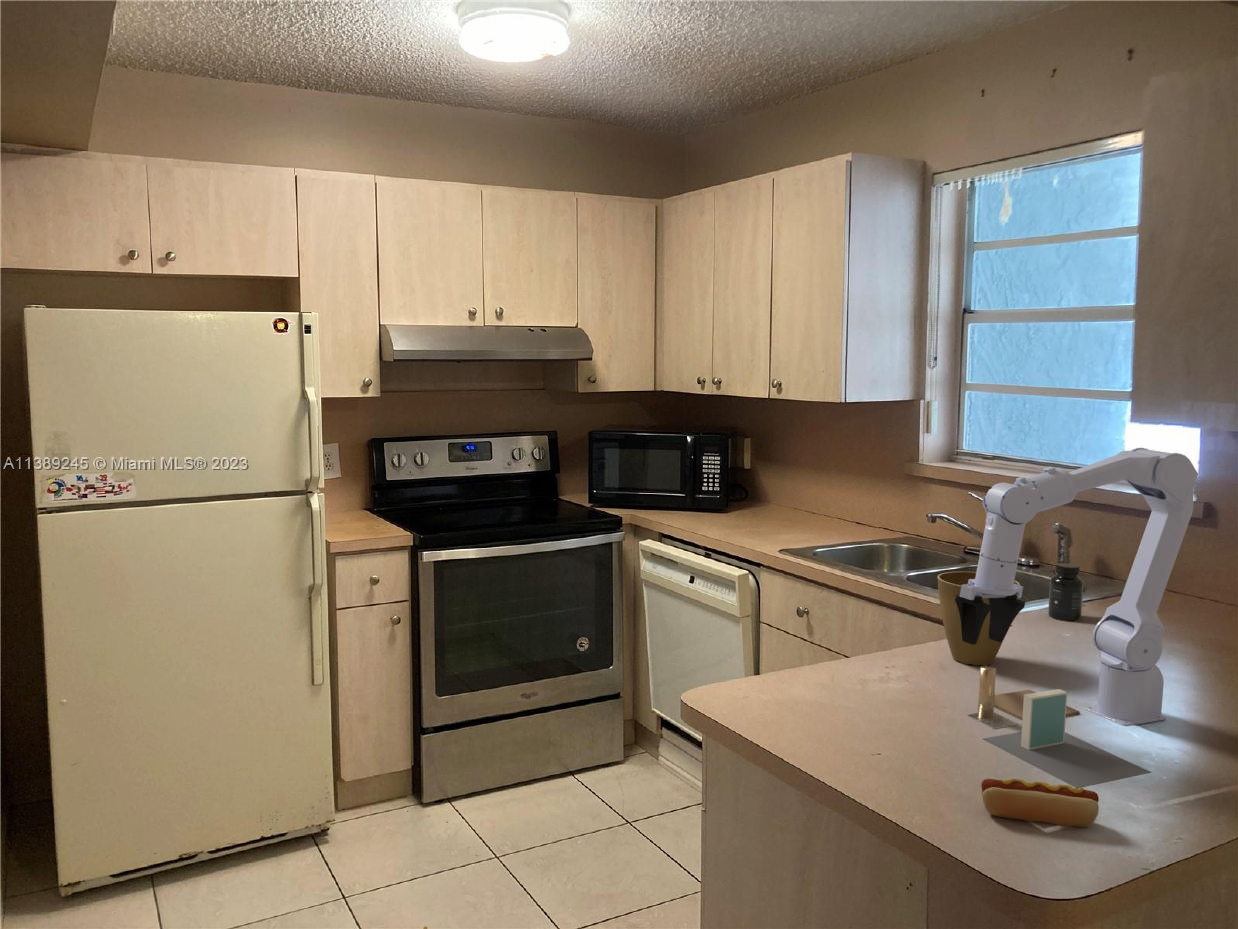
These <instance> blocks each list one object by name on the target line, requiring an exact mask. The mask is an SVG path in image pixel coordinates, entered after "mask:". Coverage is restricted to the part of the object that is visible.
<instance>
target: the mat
mask: <svg viewBox="0 0 1238 929" xmlns="http://www.w3.org/2000/svg"><path fill="white" fill-rule="evenodd" d="M1021 736H1022V731H1019V732H1012V733H1008V734H1003V735H1002V734H1001V735H1000V734H999V735H996V736H991V737H990V736H988V737H985V738H982V741H983V740H984V741H986V742H987V743H989V744H991V745H993V746H995V747H996V748H998V749H1001V750H1003V751H1005V752H1007V753H1008V754H1010V755H1012V756H1014V757H1016V758H1018V759H1020V760H1022V761H1024V762H1025V763H1027V764H1030V765H1031V766H1034V767H1035V768H1037V769H1040V770H1041V771H1043V772H1045V773H1046V774H1049V775H1050V776H1053V777H1054V778H1057V779H1059V780H1060V781H1062V782H1064V783H1065V784H1067V785H1069V786H1071V787H1073V788H1079V789H1080V788H1085V787H1089V786H1093V785H1098V784H1104V783H1107V782H1108V783H1109V782H1111V781H1116V780H1121V779H1126V778H1127V779H1128V778H1131V777H1135V776H1141V775H1144V774H1145V775H1146V774H1150V773H1151V774H1152V771H1150V770H1148V769H1145V768H1143V767H1142V766H1139V765H1137V764H1135V763H1133V762H1130V761H1128V760H1126V759H1124V758H1122V757H1120V756H1118V755H1115V754H1113V753H1111V752H1110V751H1109V752H1108V751H1107V750H1104V749H1103V748H1100V747H1098V746H1096V745H1093V744H1091V743H1089V742H1087V741H1085V740H1083V739H1080V738H1078V737H1076V736H1073V735H1072V734H1069V733H1067V732H1065V735H1064V743H1062V744H1056V745H1051V746H1046V747H1040V748H1035V749H1030V750H1028V749H1026V748H1024V747H1022V746H1021Z"/></svg>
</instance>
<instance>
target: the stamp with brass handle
mask: <svg viewBox="0 0 1238 929" xmlns="http://www.w3.org/2000/svg"><path fill="white" fill-rule="evenodd" d="M996 675H997V669H996V667H993V666H989V665H983V666H980V668H979V683H978V684H979V685H978V702H977V703H978V704H977V712H975V713H970V714H966V717H969V718H971V719H972V720H975V721H977V722H978V723H981V724H982V725H985V726H986V727H988V728H991V729H993V730H997V729H1001V728H1002V729H1003V728H1008V727H1012V726H1018V725H1019V723H1017V722H1015V721H1013V720H1011V719H1010V718H1007V717H1005V716H1002V715H1001V714H999V713H996V712H995V707H994V697H995V695H996V679H997V678H996Z"/></svg>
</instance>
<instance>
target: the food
mask: <svg viewBox="0 0 1238 929" xmlns="http://www.w3.org/2000/svg"><path fill="white" fill-rule="evenodd" d="M980 786H981V799H982V802H983V806H984V808H985V810H986V811H987V813H989V814H990V815H991V816H993V817H1000V818H1005V819H1014V820H1022V821H1025V822H1026V821H1027V822H1037V823H1045V824H1046V823H1047V824H1052V825H1058V826H1063V827H1064V826H1065V827H1078V828H1082V827H1084V828H1085V827H1088V826H1091V825H1092V824H1093V823H1095V820H1096V819H1097V817H1098V815H1099V811H1100V806H1099V799H1100V798H1099V794H1098V793H1097V792H1096V791H1093V790H1089V789H1085V788H1084V787H1080V788H1076V787H1074V786H1072V785H1070V784H1057V785H1056V784H1049V783H1048V782H1042V781H1033V782H1026V780H1023V779H1019V778H1010V779H1007V780H1006V779H999V778H998V779H996V778H985V779H983V780H982V781H981V784H980Z"/></svg>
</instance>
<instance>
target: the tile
mask: <svg viewBox="0 0 1238 929" xmlns="http://www.w3.org/2000/svg"><path fill="white" fill-rule="evenodd" d="M1067 700H1068V692H1067V691H1065V690H1063V689H1061V688H1059V689H1058V688H1057V689H1052V690H1045V691H1040V692H1039V691H1038V692H1035V693H1032V694H1026V695H1024V702H1023V719H1022V720H1021V721H1022V722H1021V723H1022V724H1021V732H1022V736H1021V746H1022V747H1024V748H1026V749H1028V750H1030V749H1035V748H1040V747H1046V746H1051V745H1056V744H1062V743H1064V735H1065V733H1066V719H1067V718H1066V717H1067V716H1066V706H1067Z"/></svg>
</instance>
